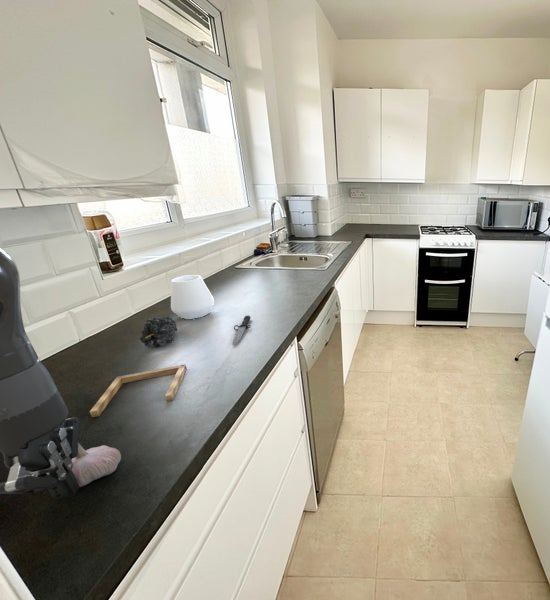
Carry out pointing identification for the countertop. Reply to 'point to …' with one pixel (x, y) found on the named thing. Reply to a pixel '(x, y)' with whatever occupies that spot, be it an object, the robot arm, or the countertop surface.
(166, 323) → the fruit
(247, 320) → the knife
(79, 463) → the garlic bulb
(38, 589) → the countertop surface
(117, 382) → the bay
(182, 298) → the white tapered hollow cylinder
